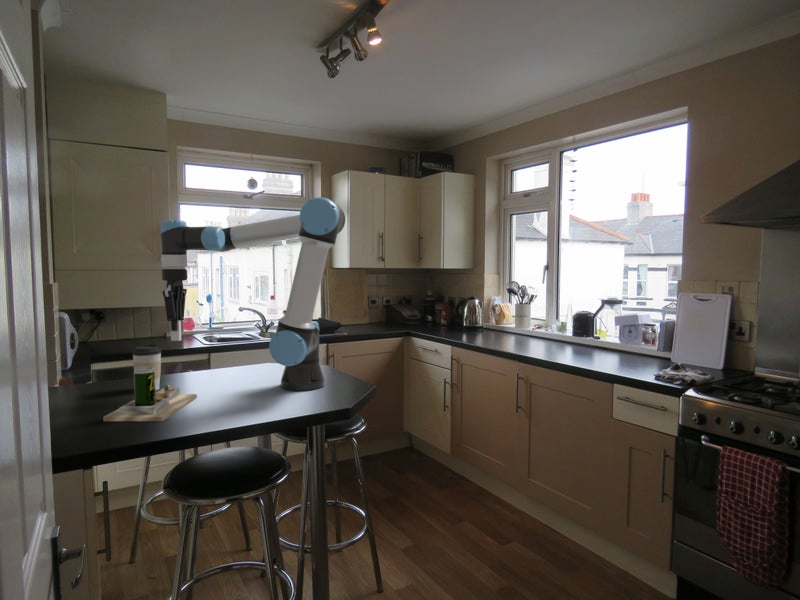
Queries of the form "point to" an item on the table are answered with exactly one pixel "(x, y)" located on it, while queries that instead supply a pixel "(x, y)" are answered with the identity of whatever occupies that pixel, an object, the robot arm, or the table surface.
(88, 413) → the table surface
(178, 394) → the dock
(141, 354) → the coffee cup
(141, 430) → the table surface
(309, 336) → the robot arm
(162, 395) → the bar
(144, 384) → the beer can
